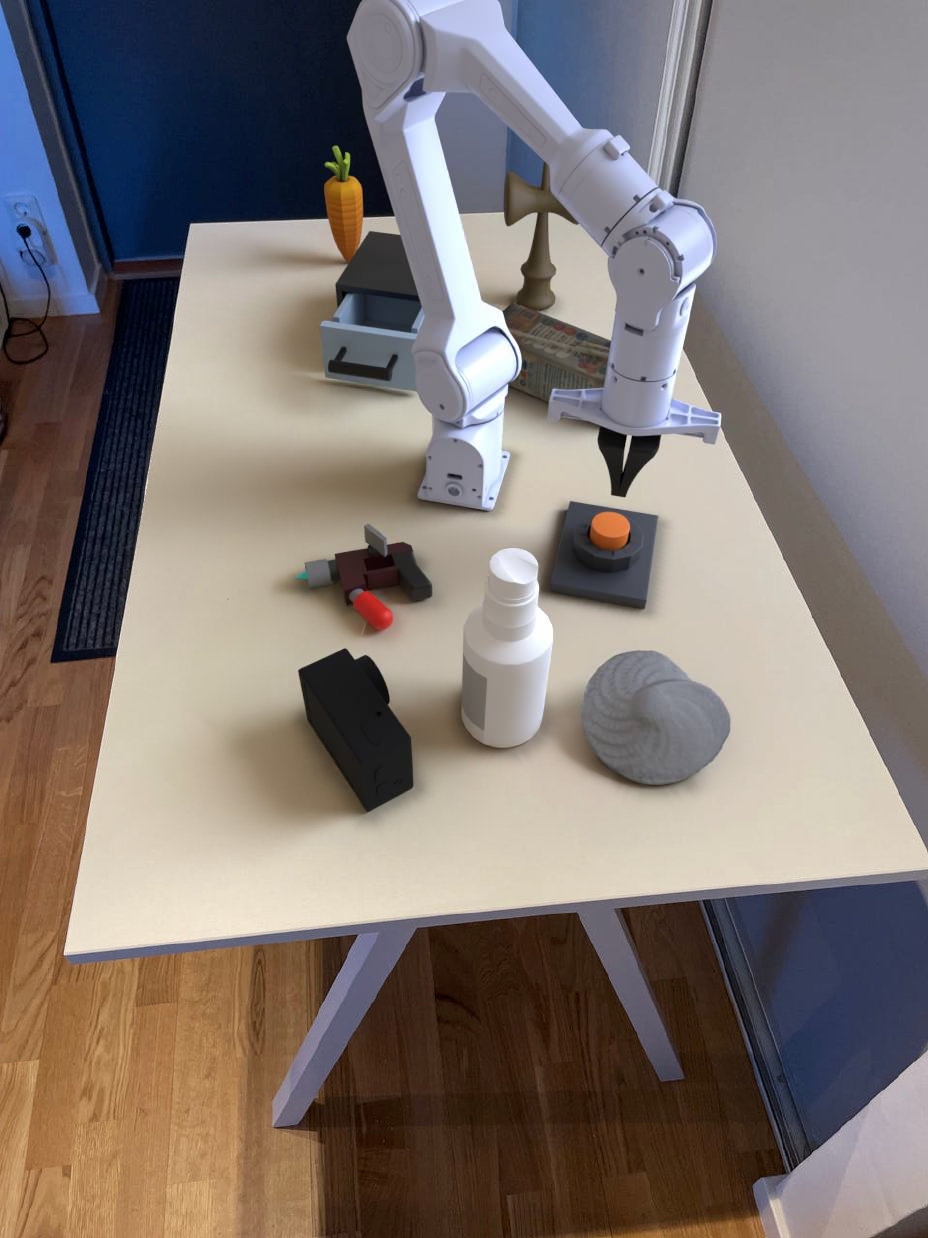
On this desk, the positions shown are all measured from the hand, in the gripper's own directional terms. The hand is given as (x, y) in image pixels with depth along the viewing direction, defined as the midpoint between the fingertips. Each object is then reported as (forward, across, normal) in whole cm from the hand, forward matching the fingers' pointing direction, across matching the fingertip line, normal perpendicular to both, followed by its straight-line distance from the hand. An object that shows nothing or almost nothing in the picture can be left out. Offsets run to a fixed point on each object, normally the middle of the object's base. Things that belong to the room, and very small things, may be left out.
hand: (619, 489), depth 85 cm
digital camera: (+8, +16, +28) cm, 34 cm away
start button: (+5, 0, +1) cm, 5 cm away
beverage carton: (+8, +9, -26) cm, 28 cm away
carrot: (+8, +42, -48) cm, 64 cm away
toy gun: (+8, +21, +12) cm, 26 cm away
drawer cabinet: (+7, +30, -34) cm, 46 cm away
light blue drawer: (+7, +30, -23) cm, 39 cm away
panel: (+7, 0, +1) cm, 8 cm away
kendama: (+8, +15, -44) cm, 47 cm away
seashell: (+8, -6, +21) cm, 23 cm away
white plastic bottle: (+8, +6, +22) cm, 24 cm away
